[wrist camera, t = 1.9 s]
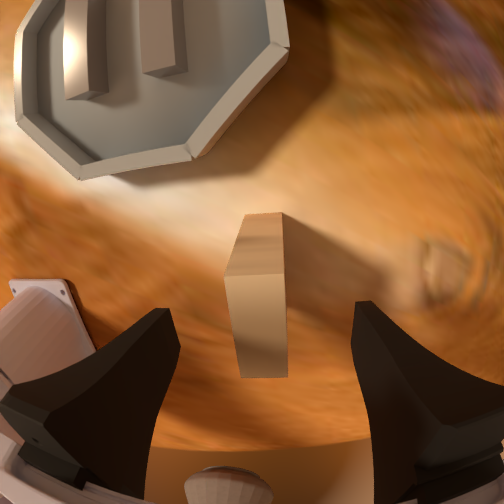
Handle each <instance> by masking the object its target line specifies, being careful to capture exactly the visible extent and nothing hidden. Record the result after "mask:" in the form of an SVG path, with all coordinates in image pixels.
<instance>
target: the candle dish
mask: <svg viewBox="0 0 504 504" xmlns="http://www.w3.org/2000/svg"><path fill="white" fill-rule="evenodd" d="M17 32H18V33H17V34H16V36H15V50H14V102H15V118H16V122H18V123H17V125H18V126H19V127H20V128H21V129H22V130H23V131H24V132H25V133H26V134H27V135H29V136H30V137H31V138H32V139H33V140H34V141H35V142H36V143H37V144H38V145H39V146H40V147H41V148H42V149H44V150H45V151H46V152H47V153H48V154H49V155H50V156H51V157H52V158H53V159H54V160H56V161H57V162H58V163H59V164H60V165H61V166H62V167H63V168H65V169H66V170H67V171H68V172H69V173H70V174H71V175H72V176H74V177H75V178H76V179H77V180H81V181H83V180H87V179H92V178H96V177H101V176H105V175H110V174H115V173H120V172H125V171H131V170H136V169H142V168H147V167H153V166H159V165H166V164H172V163H179V162H186V161H192V160H194V159H197V158H199V157H201V156H204V155H205V154H207V153H208V152H209V151H210V150H211V149H212V147H213V146H214V145H215V144H216V142H217V141H218V140H219V139H220V137H221V136H222V135H223V134H224V132H225V131H226V130H227V129H228V128H229V126H230V125H231V124H232V123H233V122H234V120H235V119H236V118H237V117H238V116H239V114H240V113H241V112H242V111H243V110H244V109H245V107H246V106H247V105H248V104H249V103H250V102H251V101H252V99H253V98H254V97H255V96H256V95H257V94H258V93H259V92H260V90H261V89H262V88H263V87H264V86H265V85H266V84H267V83H268V82H269V81H270V79H271V78H272V77H273V76H274V75H275V74H276V73H277V72H278V71H279V70H280V69H281V68H282V67H283V66H284V65H285V63H286V62H287V59H288V55H289V49H290V44H289V36H288V29H287V21H286V14H285V8H284V1H283V0H35V2H34V3H33V5H32V6H31V8H30V9H29V11H28V13H27V14H26V16H25V18H24V19H23V21H22V23H21V24H20V26H19V28H18V30H17Z"/></svg>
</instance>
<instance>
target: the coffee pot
mask: <svg viewBox="0 0 504 504" xmlns="http://www.w3.org/2000/svg"><path fill="white" fill-rule="evenodd" d="M184 488H185V492H186V496H187V500H188V504H270V503H271V501H272V500H273V492H272V490H271V488H270V486H269V485H268V484H267V483H266V482H264V480H262V479H260V477H259V476H258V475H257V474H256V473H254V472H251V471H248V470H245V469H241V468H235V467H228V466H212V467H208V468H205V469H204V470H203V471H200V472H197V473H195V474H194V475H192V476H190V477H189V478H188V479H187V481H186V482H185V485H184Z"/></svg>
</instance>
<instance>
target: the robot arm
mask: <svg viewBox="0 0 504 504" xmlns="http://www.w3.org/2000/svg"><path fill="white" fill-rule="evenodd" d="M9 285H10V288H11V290H12V293H13V295H14V297H15V298H13V299H12V300H11V301H10V302H9V303H8V304H7V305H6V306H5V307H3V308H2V309H1V310H0V498H1V497H2V496H5V497H6V498H7V499H9V500H10V501H11V502H12V503H14V504H156V503H152V502H148V501H144V490H145V478H146V469H147V463H148V456H149V450H150V445H151V440H152V435H153V431H154V427H155V423H156V419H157V416H158V413H159V410H160V407H161V405H162V402H163V399H164V397H165V394H166V392H167V389H168V387H169V384H170V382H171V379H172V376H173V374H174V371H175V369H176V365H177V361H178V357H179V352H180V348H181V346H180V343H179V340H178V336H177V333H176V330H175V326H174V323H173V320H172V316H171V313H170V309H169V308H155V309H153V310H152V311H151V312H149V313H148V314H146V315H145V316H144V317H142V318H141V319H140V320H139V321H137V322H136V323H135V324H133V325H132V326H131V327H130V328H128V329H127V330H126V331H124V332H123V333H122V334H120V335H119V336H118V337H116V338H115V339H114V340H112V341H111V342H109V343H108V344H106V345H105V346H104V347H102V348H101V349H99V350H98V351H96V350H95V348H94V346H93V344H92V341H91V339H90V337H89V335H88V333H87V331H86V328H85V326H84V324H83V322H82V319H81V317H80V315H79V312H78V310H77V308H76V305H75V303H74V300H73V298H72V295H71V293H70V290H69V287H68V285H67V283H66V281H64V280H63V279H11V280H10V281H9ZM64 291H65V292H64ZM351 348H352V355H353V361H354V366H355V370H356V373H357V377H358V380H359V384H360V387H361V391H362V394H363V398H364V402H365V405H366V409H367V413H368V418H369V425H370V433H371V440H372V452H373V466H374V504H504V459H503V460H502V458H501V455H500V453H501V452H503V449H504V448H503V446H502V443H501V441H502V440H503V439H504V386H501V385H498V384H495V383H492V382H488V381H486V380H483V379H481V378H478V377H476V376H473V375H471V374H469V373H467V372H465V371H462V370H460V369H459V368H457V367H455V366H453V365H451V364H449V363H447V362H446V361H444V360H442V359H441V358H439V357H438V356H436V355H435V354H433V353H432V352H430V351H429V350H427V349H426V348H424V347H423V346H422V345H420V344H419V343H418V342H417V341H415V340H414V339H413V338H412V337H410V336H409V335H408V334H407V333H405V332H404V331H403V330H402V329H401V328H400V327H399V326H398V325H396V324H395V323H394V322H393V321H392V320H391V319H390V318H389V317H388V316H387V315H386V314H385V313H384V312H382V311H381V310H380V309H379V308H378V307H377V306H376V305H375V304H374V303H373V302H372V301H360V302H355V312H354V321H353V329H352V337H351Z"/></svg>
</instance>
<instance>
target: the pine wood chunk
mask: <svg viewBox="0 0 504 504" xmlns="http://www.w3.org/2000/svg"><path fill="white" fill-rule="evenodd" d="M224 282H225V288H226V295H227V301H228V307H229V313H230V319H231V325H232V331H233V337H234V342H235V348H236V354H237V359H238V365H239V370H240V376H241V378H282V377H288V344H287V304H286V279H285V259H284V241H283V225H282V212H279V213H263V214H247V215H245V216H244V219H243V222H242V225H241V228H240V230H239V233H238V236H237V239H236V242H235V245H234V248H233V251H232V253H231V256H230V259H229V262H228V265H227V268H226V271H225V274H224Z"/></svg>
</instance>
